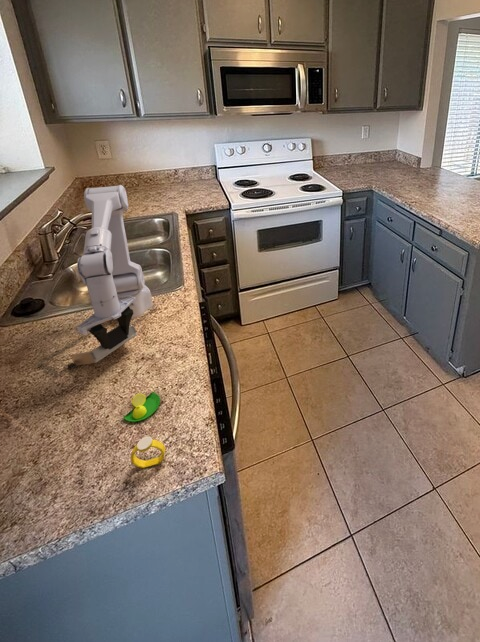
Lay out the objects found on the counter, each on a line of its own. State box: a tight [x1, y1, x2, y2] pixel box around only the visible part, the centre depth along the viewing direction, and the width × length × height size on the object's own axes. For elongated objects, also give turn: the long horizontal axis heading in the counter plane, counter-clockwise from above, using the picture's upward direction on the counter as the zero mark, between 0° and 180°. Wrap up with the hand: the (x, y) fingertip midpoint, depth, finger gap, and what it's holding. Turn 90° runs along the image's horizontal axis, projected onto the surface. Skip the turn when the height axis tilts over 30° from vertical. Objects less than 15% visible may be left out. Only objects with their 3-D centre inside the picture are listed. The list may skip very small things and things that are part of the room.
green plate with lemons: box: [123, 392, 161, 422], centre depth 83 cm, size 8×8×3 cm
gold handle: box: [67, 362, 76, 369], centre depth 101 cm, size 1×15×1 cm, turn 154°
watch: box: [130, 435, 166, 469], centre depth 71 cm, size 6×3×6 cm, turn 103°
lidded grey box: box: [70, 324, 138, 366], centre depth 97 cm, size 14×12×5 cm
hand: (115, 340), depth 94 cm, fingers closed on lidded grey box, 5 cm apart
